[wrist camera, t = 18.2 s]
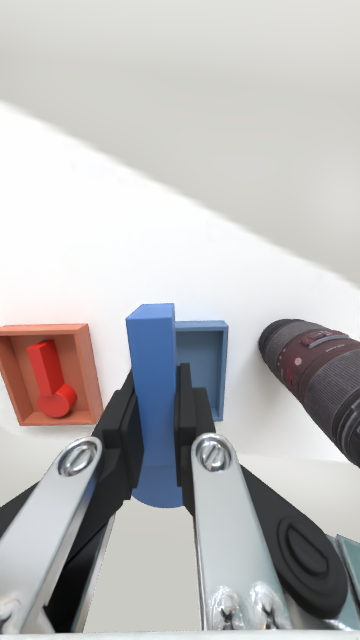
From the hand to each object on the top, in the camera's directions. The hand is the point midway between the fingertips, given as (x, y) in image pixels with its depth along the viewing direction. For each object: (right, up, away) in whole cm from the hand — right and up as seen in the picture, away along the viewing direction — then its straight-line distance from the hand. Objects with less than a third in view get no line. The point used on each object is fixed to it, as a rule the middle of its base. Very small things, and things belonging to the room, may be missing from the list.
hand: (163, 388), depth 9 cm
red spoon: (-17, -4, +15) cm, 23 cm away
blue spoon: (0, 0, 0) cm, 1 cm away
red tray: (-17, -4, +16) cm, 24 cm away
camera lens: (+15, +1, +15) cm, 21 cm away
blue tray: (+1, -3, +16) cm, 16 cm away
